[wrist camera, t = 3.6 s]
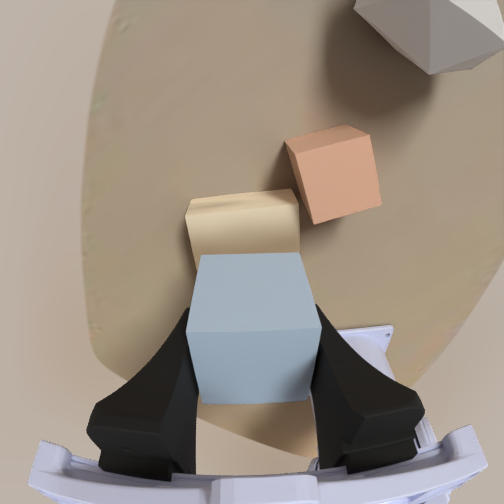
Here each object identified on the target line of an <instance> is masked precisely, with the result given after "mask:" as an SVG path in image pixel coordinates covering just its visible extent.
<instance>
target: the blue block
mask: <svg viewBox="0 0 504 504" xmlns="http://www.w3.org/2000/svg"><path fill="white" fill-rule="evenodd" d="M321 329H322V327H321V323H320V320H319V316H318V313H317V309H316V306H315V303H314V299H313V296H312V292H311V289H310V286H309V283H308V279H307V276H306V273H305V270H304V266H303V263H302V260H301V257H300V254H299V252H294V253H256V254H218V255H201V258H200V262H199V267H198V272H197V277H196V282H195V287H194V292H193V297H192V302H191V307H190V312H189V318H188V323H187V328H186V335H187V340H188V344H189V349H190V353H191V358H192V362H193V367H194V371H195V375H196V379H197V383H198V388H199V392H200V396H201V400H202V403H203V404H259V403H279V402H294V401H306V400H307V398H308V394H309V389H310V385H311V380H312V375H313V371H314V366H315V361H316V356H317V351H318V346H319V340H320V335H321Z"/></svg>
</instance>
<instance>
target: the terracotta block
mask: <svg viewBox="0 0 504 504" xmlns="http://www.w3.org/2000/svg"><path fill="white" fill-rule="evenodd" d="M285 144H286V147H287V151H288V154H289V157H290V161H291V164H292V168H293V171H294V175H295V178H296V182H297V185H298V189H299V192H300V196H301V199H302V201H303V203H304V205H305V207H306V209H307V211H308V213H309V215H310V218H311V220H312V222H313V224H318V223H321V222H325V221H328V220H331V219H335V218H338V217H342V216H345V215H348V214H352V213H355V212H359V211H362V210H366V209H369V208H372V207H376V206H379V205H382V204H381V197H380V190H379V184H378V178H377V172H376V166H375V160H374V155H373V150H372V144H371V139H370V135H368V134H366V133H364V132H362V131H360V130H357V129H355V128H353V127H350V126H348V125H341V126H337V127H333V128H329V129H325V130H321V131H317V132H314V133H310V134H306V135H302V136H299V137H295V138H292V139H288V140H285Z"/></svg>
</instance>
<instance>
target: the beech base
mask: <svg viewBox="0 0 504 504" xmlns="http://www.w3.org/2000/svg"><path fill="white" fill-rule="evenodd" d="M185 218H186V223H187V228H188V233H189V237H190V242H191V247H192V251H193V256H194V260H195V265H196V269H197V272H198V267H199V262H200V258H201V255H218V254H256V253H294V252H299V254H300V227H299V204H298V202H297V199H296V197H295V195H294V193H293V191H292V189H281V190H270V191H260V192H250V193H241V194H232V195H223V196H215V197H206V198H198V199H192V200H191V202H190V205H189V208H188V210H187V213H186V215H185Z"/></svg>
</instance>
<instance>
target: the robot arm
mask: <svg viewBox="0 0 504 504" xmlns="http://www.w3.org/2000/svg"><path fill="white" fill-rule="evenodd" d="M315 306H316V309H317V313H318V316H319V320H320V323H321V327H322V329H321V335H320V340H319V346H318V351H317V356H316V361H315V366H314V371H313V375H312V380H311V385H310V389H309V394H308V396H310V400H311V405H312V411H313V416H314V422H315V428H316V433H317V440H318V446H317V451H318V457H316V458H314V459H313V460H312V461H311V463H310V465H309V468H308V470H307V471H306V472H298V473H286V474H272V475H249V476H220V475H219V476H217V475H196V415H197V401H198V394H199V388H198V383H197V379H196V375H195V371H194V367H193V362H192V358H191V353H190V349H189V344H188V340H187V335H186V328H187V323H188V318H189V312H190V308H186V309H185V311H184V313H183V315H182V316H181V318H180V320H179V322H178V323H177V325H176V326H175V328H174V330H173V331H172V332H171V334H170V335H169V337H168V338H167V340H166V341H165V342H164V344H163V345H162V346H161V348H160V349H159V350H158V352H157V353H156V354H155V355H154V356H153V358H152V359H151V360H150V361H149V362H148V363H147V364H146V365H145V366H144V367H143V368H142V369H141V370H140V371H139V372H138V373H137V374H136V375H135V376H134V377H133V378H132V379H130V380H129V381H128V382H127V383H126V384H124V385H123V386H122V387H121V388H119V389H118V390H117V391H115V392H114V393H112V394H111V395H109V396H107V397H106V398H104V399H103V400H101V401H99V402H98V403H96V405H95V407H94V409H93V411H92V413H91V416H90V419H89V423H88V426H87V429H86V430H87V434H88V436H89V437H90V439H91V440H92V441H93V442H94V443H95V444H96V445H97V446H98V447H99V448H100V449H101V455H100V459H99V461H95V460H91V459H87V458H82V457H79V456H75V455H72V454H71V453H70V451H69V450H68V449H66V448H65V447H63V446H60V445H57V444H54V443H51V442H47V441H44V440H41V441H40V444H39V447H38V450H37V453H36V457H35V459H34V463H33V466H32V469H31V472H30V476H29V479H28V485H29V486H31V487H32V488H34V489H35V490H37V491H38V492H40V493H41V494H43V495H45V496H46V497H48V498H50V499H51V500H53V501H55V502H57V503H59V504H448V502H449V500H450V493H451V492H452V490H454V489H456V488H458V487H460V486H461V485H463V484H465V483H466V482H467V481H469V480H470V479H472V478H473V477H475V476H476V475H477V474H479V473H480V472H481V471H483V470H484V469H485V468H486V467H487V466H488V464H487V461H486V458H485V456H484V453H483V451H482V448H481V446H480V444H479V441H478V439H477V437H476V434H475V432H474V430H473V427H472V425H470V424H469V425H467V426H464V427H461V428H459V429H456V430H454V431H451V432H450V433H448V434H447V435H446V436H445V437H444V438H443V439H442V441H440V442H437V440H436V437H435V435H434V432H433V430H432V427H431V425H430V423H429V420H428V418H427V417H424V414H425V409H424V407H423V405H422V402H421V400H420V398H419V396H418V395H417V393H416V391H414V390H412V389H410V388H408V387H406V386H403V385H401V384H399V383H398V382H396V380H395V378H394V375H393V373H392V370H391V368H390V366H389V363H388V361H387V358H386V356H385V352H386V349H387V346H388V344H389V341H390V339H391V336H392V333H393V331H394V329H393V327H392V325H385V326H376V327H367V328H357V329H346V330H336V329H335V328H334V327H333V325H332V324H331V323H330V322H329V320H328V319H327V318H326V316H325V315H324V314H323V312H322V311H321V309H320V308H319V306H318V305H317V304H315Z"/></svg>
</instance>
